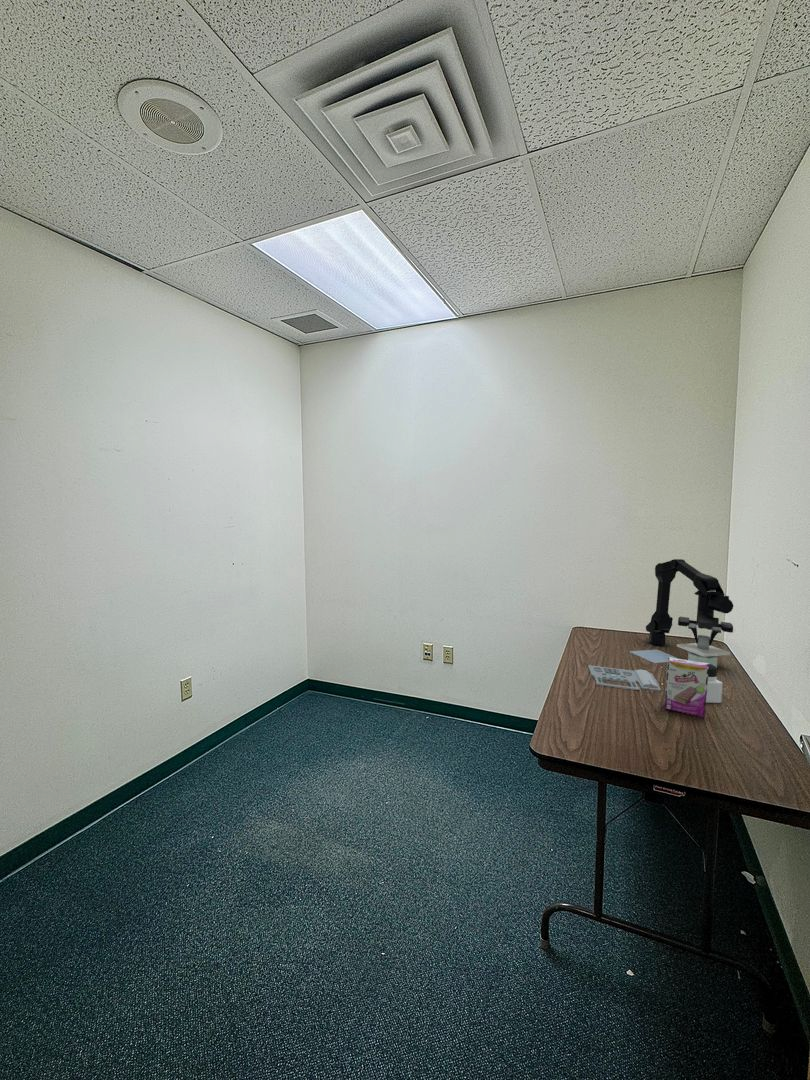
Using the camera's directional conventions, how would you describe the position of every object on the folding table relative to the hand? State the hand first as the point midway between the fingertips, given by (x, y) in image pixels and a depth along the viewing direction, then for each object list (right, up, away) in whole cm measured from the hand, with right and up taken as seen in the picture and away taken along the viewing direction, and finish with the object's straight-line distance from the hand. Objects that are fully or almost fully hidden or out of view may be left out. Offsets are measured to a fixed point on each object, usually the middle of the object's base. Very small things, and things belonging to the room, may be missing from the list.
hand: (703, 644), depth 185 cm
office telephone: (-41, -10, -15) cm, 45 cm away
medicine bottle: (-21, -11, -31) cm, 39 cm away
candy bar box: (-34, -12, -41) cm, 55 cm away
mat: (-14, -8, +11) cm, 19 cm away
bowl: (0, -9, +1) cm, 9 cm away
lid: (0, -3, 0) cm, 3 cm away
